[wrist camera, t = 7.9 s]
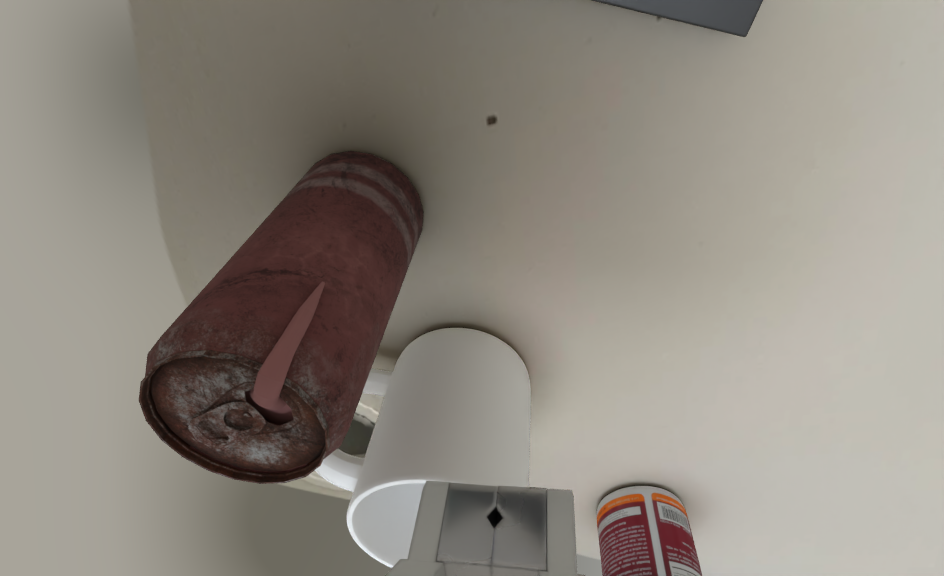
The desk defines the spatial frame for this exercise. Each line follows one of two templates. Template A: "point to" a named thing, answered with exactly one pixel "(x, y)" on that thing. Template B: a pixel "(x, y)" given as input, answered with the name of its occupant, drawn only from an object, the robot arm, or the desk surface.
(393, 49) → the desk surface
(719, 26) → the scale
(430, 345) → the mug
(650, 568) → the pill bottle
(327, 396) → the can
